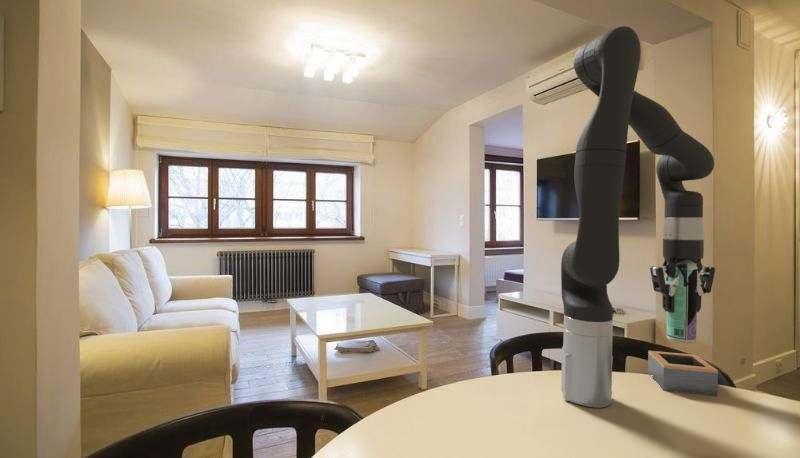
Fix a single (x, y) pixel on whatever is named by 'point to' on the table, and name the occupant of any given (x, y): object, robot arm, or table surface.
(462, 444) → the table surface
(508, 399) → the table surface
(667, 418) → the table surface
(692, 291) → the spray can
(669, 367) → the grey open box
